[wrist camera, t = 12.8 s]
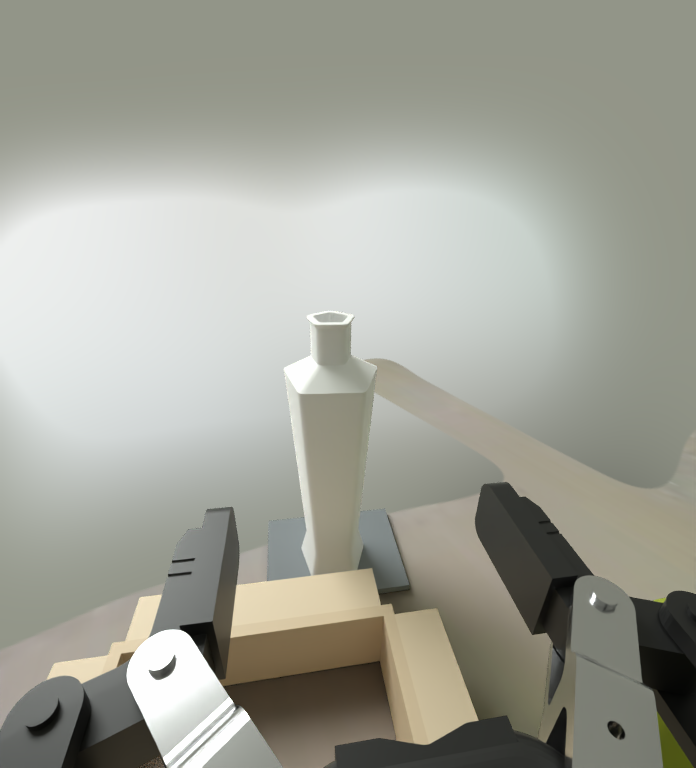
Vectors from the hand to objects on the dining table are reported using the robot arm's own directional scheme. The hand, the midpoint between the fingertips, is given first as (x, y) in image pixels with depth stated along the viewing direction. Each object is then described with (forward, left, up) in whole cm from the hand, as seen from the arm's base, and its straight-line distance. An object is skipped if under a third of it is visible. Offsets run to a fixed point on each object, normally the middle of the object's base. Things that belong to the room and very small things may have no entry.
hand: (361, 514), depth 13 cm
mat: (0, -8, -11) cm, 14 cm away
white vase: (0, -8, -11) cm, 14 cm away
